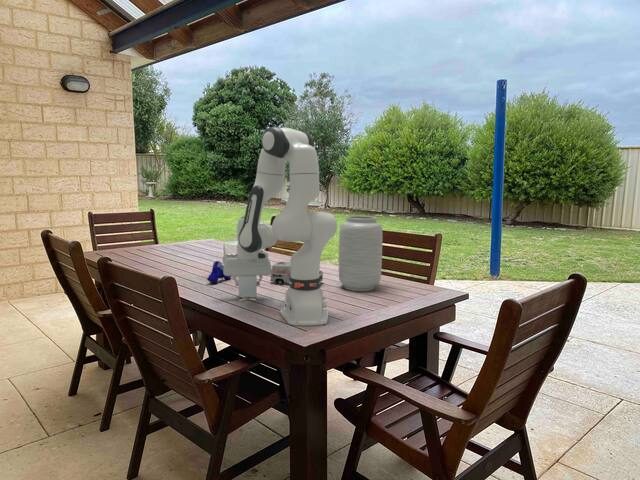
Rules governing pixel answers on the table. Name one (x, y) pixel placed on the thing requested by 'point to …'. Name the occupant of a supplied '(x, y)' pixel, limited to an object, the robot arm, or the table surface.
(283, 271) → the toy car
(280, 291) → the table surface
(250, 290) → the grey block
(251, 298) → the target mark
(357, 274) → the vase
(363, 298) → the table surface
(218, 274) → the toy gun
